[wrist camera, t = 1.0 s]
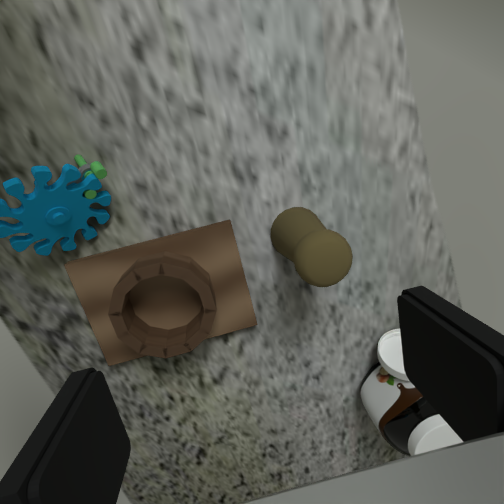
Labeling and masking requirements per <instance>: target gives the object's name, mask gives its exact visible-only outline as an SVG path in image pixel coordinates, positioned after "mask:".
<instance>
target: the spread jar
mask: <svg viewBox="0 0 504 504" xmlns="http://www.w3.org/2000/svg"><path fill="white" fill-rule="evenodd" d="M377 355H378V360H379V362H378V363H376V364H375V365H374V366H373V367H372V368H371V369H370V370H369V372H368V373H367V375H366V376H365V378H364V380H363V383H362V386H361V392H360V394H361V399H362V403H363V405H364V407H365V409H366V411H367V413H368V415H369V416H370V418H371V420H372V421H373V423H374V425H375V426H376V428H377V429H378V431H379V432H380V434H381V435H382V436H383V438H384V439H385V440H386V441H387V442H388V443H389V444H390V445H391V446H392V447H393V448H394V449H396V450H397V451H399V452H401V453H402V454H404V455H407V456H413V455H416V454H420V453H424V452H428V451H431V450H435V449H439V448H443V447H446V446H450V445H454V444H458V443H462V442H463V441H462V440H461V439H460V437H459V436H458V435H457V434H456V433H455V432H454V431H453V429H452V428H451V427H450V426H449V425H448V424H447V423H446V422H445V420H444V419H443V418H442V417H441V416H440V415H439V414H438V412H437V411H436V410H435V409H434V408H433V407H432V406H431V405H430V403H429V402H428V401H427V400H426V399H425V398H424V397H423V395H422V394H421V393H420V392H419V391H418V390H417V389H416V387H415V386H414V385H413V384H412V383H411V382H410V381H409V379H408V378H407V376H406V374H405V371H404V364H403V353H402V343H401V333H400V329H394V330H391V331H388V332H386V333H385V334H384V335H383V336H382V337H381V338H380V340H379V342H378V350H377Z"/></svg>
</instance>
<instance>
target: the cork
mask: <svg viewBox="0 0 504 504" xmlns="http://www.w3.org/2000/svg"><path fill="white" fill-rule="evenodd" d="M271 241H272V244H273V246H274V247H275V249H276V250H277V251H278V252H279V253H281V254H282V255H283V256H285V257H286V258H288V259H289V260H291V261H292V262H293V263H294V265H295V269H296V271H297V272H298V274H299V275H300V277H301V278H302V279H303V280H304V281H306V282H307V283H308V284H311V285H314V286H317V287H328V286H331V285H334V284H336V283H338V282H339V281H341V280H342V279H343V278H344V277H345V276H346V275H347V274H348V272H349V270H350V267H351V265H352V258H353V256H352V251H351V248H350V246H349V244H348V242H347V241H346V239H345V238H344V237H342V236H341V235H340V234H338V233H337V232H334V231H331V230H327V229H326V228H325V227H324V225H323V224H322V223H321V221H320V220H319V219H318V217H317V216H316V215H315V214H314V213H313V212H311V211H310V210H308V209H305V208H302V207H293V208H290V209H287V210H285V211H284V212H282V213H281V214H279V215H278V217H277V218H276V219H275V220H274V222H273V225H272V228H271Z"/></svg>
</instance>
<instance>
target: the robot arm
mask: <svg viewBox="0 0 504 504" xmlns="http://www.w3.org/2000/svg"><path fill="white" fill-rule="evenodd" d="M397 303H398V313H399V323H400V333H401V343H402V353H403V364H404V371H405V374H406V376H407V378H408V379H409V381H410V382H411V383H412V384H413V385H414V386H415V387H416V389H417V390H418V391H419V392H420V393H421V394H422V395H423V397H424V398H425V399H426V400H427V401H428V402H429V403H430V405H431V406H432V407H433V408H434V409H435V410H436V411H437V412H438V414H439V415H440V416H441V417H442V418H443V419H444V420H445V422H446V423H447V424H448V425H449V426H450V427H451V428H452V429H453V431H454V432H455V433H456V434H457V435H458V436H459V437H460V439H461V440H462V441H463V442H462V443H458V444H454V445H450V446H446V447H443V448H439V449H435V450H431V451H428V452H424V453H420V454H416V455H413V456H409V457H405V458H401V459H398V460H394V461H390V462H386V463H383V464H379V465H375V466H371V467H368V468H364V469H360V470H356V471H353V472H349V473H345V474H342V475H338V476H334V477H331V478H327V479H323V480H320V481H316V482H312V483H309V484H305V485H301V486H298V487H294V488H290V489H287V490H283V491H279V492H276V493H272V494H268V495H265V496H261V497H257V498H254V499H250V500H247V501H243V502H239V503H236V504H504V335H502V334H501V333H499V332H497V331H495V330H494V329H492V328H491V327H489V326H488V325H486V324H484V323H483V322H481V321H479V320H478V319H476V318H474V317H473V316H471V315H469V314H468V313H466V312H465V311H463V310H461V309H460V308H458V307H456V306H455V305H453V304H452V303H450V302H448V301H447V300H445V299H443V298H442V297H440V296H438V295H437V294H435V293H434V292H432V291H430V290H429V289H427V288H425V287H424V286H418V287H414V288H410V289H406V290H403V291H402V294H401V296H398V299H397ZM130 450H131V446H130V440H129V437H128V435H127V432H126V430H125V427H124V425H123V422H122V420H121V417H120V415H119V412H118V410H117V407H116V405H115V402H114V400H113V397H112V395H111V392H110V390H109V387H108V385H107V382H106V380H105V377H104V375H103V373H102V372H101V371H96V370H95V369H94V368H88V369H84V370H80V371H76V372H73V373H72V374H71V375H70V376H69V378H68V379H67V381H66V382H65V384H64V385H63V387H62V388H61V390H60V391H59V393H58V394H57V396H56V397H55V399H54V401H53V402H52V403H51V405H50V407H49V408H48V410H47V411H46V413H45V414H44V416H43V417H42V419H41V420H40V422H39V423H38V425H37V426H36V428H35V429H34V431H33V433H32V434H31V436H30V437H29V439H28V440H27V442H26V443H25V445H24V446H23V448H22V449H21V451H20V452H19V454H18V456H17V457H16V458H15V460H14V462H13V463H12V465H11V466H10V468H9V469H8V471H7V472H6V474H5V475H4V477H3V478H2V480H1V481H0V504H116V502H117V499H118V495H119V491H120V488H121V484H122V481H123V477H124V474H125V470H126V466H127V463H128V459H129V456H130Z"/></svg>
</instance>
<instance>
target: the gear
mask: <svg viewBox="0 0 504 504" xmlns="http://www.w3.org/2000/svg"><path fill="white" fill-rule="evenodd" d="M74 159H75V161H76V162H77V164H78V165H79V167H80V168H78V169H77V168H76V167H75V166H72V165H70V164H65V165H64V166H63V168H62V173H61V176H60V177H59V179H58V180H57V181H56V182H54V183H53V184H52V185H50V186H48V185H47V182H48V181H49V180H50V179H51V178H52V173H51V172H50V170H49V168H48V167H47V166H33V167H32V168H31V172H32V174H33V176H34V178H35V181H34V184H35V189H34V191H33V192H32V193H30V194H23V193H24V186H23V184H22V182H21V180H20V179H19V178H17V177H15V178H12V179H9V180H7V181H5V182H4V183H3V186H4V189H5V191H6V193H7V194H9V195H11V196H14V197H16V198H17V199H19V200H20V201H21V203H22V204H21V206H20V207H19V208H15V209H13V208H10V207H8V205H7V203H6V201H5V200H3V199H0V217H12V218H15V219H17V220H19V221H20V222H19V223H16V224H10V223H8V222H6V221H3V220H0V238H4V237H7V236H9V235H12V234H16V233H30V234H28V235H26V236H13V237H11V238H10V239H9V241H10V243H11V245H12V247H13V249H15V250H16V251H18V252H21V251H24V250H25V249H26V248H27V247H28V246H29V245H30V244H32V243H33V242H35V241H38V240H41V239H44V238H47V239H46V240H44V241H41V242H38V243H36V244H35V245H34V249H35V251H36V253H37V254H39V255H45V256H47V255H49V254H50V253H51V250H52V246H53V245H54V243H55V242H56V241H57V240H59V239H60V238H61V237H65V238H64V239H62V240H61V242H60V245H61V247H62V249H63V251H70V250H74V249H76V243H75V242H74V235H75V233H76V231H77V230H79V229H82V235H83V236H84V238H85V239H86V240H90V239H92V238H94V237H96V236H97V232H96V230H95V229H94V227H92V226H90V225H88V224H87V219H88V218H89V217H92V216H94V217H95V218H96V220H97V221H98V223H99V224H104V223H106V222H107V221H108V219H109V218H110V215H109V214H108V212H107V211H106V210H104V209H100V210H99V209H93V208H91V207H90V205H91V204H92V203H94V202H97V203H99V204H100V205H102V206H108V205H110V202H111V196H110V194H109V193H108V191H101V192H98V193H96V191H95V190H99V189H100V188H101V187H102V185H101V183H100V181H99V180H98V179H103V178H105V177H106V175H107V172H106V170H105V169H104V167H103V166H102V164H101V163H100V162H97V161H95V162H93V163H91V164H87V163H86V162H85V160H84V159H83V157H82V156H81V155H76V156H75V157H74ZM83 193H84V194H83Z"/></svg>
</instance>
